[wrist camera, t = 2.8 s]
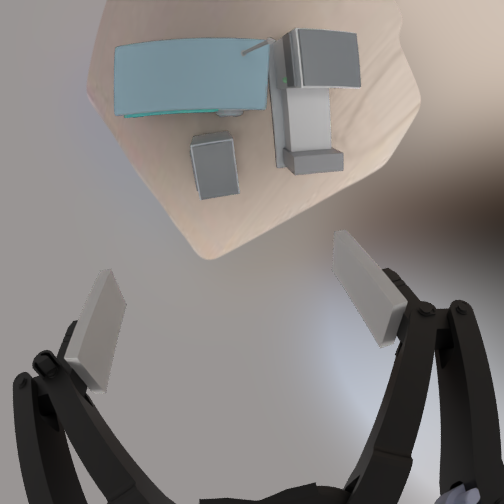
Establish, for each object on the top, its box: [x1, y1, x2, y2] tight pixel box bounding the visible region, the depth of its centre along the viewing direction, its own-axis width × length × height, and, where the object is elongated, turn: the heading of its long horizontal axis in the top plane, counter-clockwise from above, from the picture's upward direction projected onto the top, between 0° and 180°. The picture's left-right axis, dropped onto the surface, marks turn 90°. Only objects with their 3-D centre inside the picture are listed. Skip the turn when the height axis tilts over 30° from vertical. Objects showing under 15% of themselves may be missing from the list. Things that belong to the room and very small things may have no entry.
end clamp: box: [283, 147, 343, 175], centre depth 38 cm, size 2×7×6 cm, turn 96°
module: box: [190, 131, 240, 200], centre depth 36 cm, size 7×5×8 cm
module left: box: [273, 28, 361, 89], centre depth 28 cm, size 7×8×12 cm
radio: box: [114, 37, 276, 118], centre depth 25 cm, size 16×9×20 cm, turn 87°
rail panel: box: [268, 41, 331, 168], centre depth 35 cm, size 20×8×4 cm, turn 6°
